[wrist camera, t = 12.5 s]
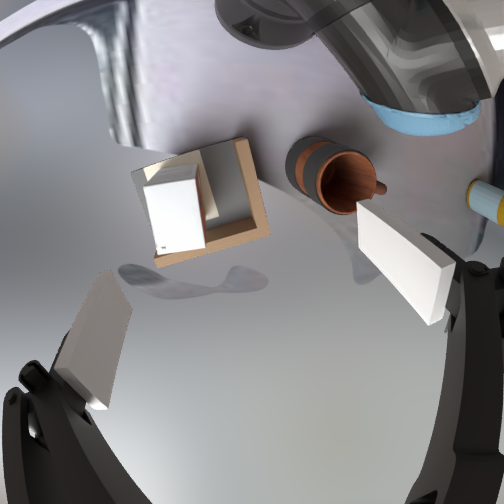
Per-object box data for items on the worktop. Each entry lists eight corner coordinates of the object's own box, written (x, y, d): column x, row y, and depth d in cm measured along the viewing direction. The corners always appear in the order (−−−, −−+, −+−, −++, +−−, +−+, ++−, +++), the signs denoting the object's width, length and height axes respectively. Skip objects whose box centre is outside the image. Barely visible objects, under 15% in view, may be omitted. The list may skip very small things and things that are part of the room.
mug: (348, 200, 42) (389, 228, 32) (278, 187, 40) (305, 214, 30) (361, 149, 39) (408, 163, 29) (290, 130, 36) (323, 136, 26)
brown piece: (131, 172, 35) (121, 179, 31) (242, 136, 36) (247, 139, 31) (162, 251, 41) (157, 268, 37) (263, 221, 42) (270, 235, 37)
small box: (206, 217, 39) (207, 250, 30) (167, 222, 39) (157, 257, 29) (198, 161, 36) (196, 177, 26) (158, 168, 35) (142, 186, 26)
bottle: (461, 201, 47) (511, 229, 33) (472, 173, 44) (523, 197, 31) (474, 212, 49) (520, 239, 35) (484, 186, 46) (531, 209, 33)
